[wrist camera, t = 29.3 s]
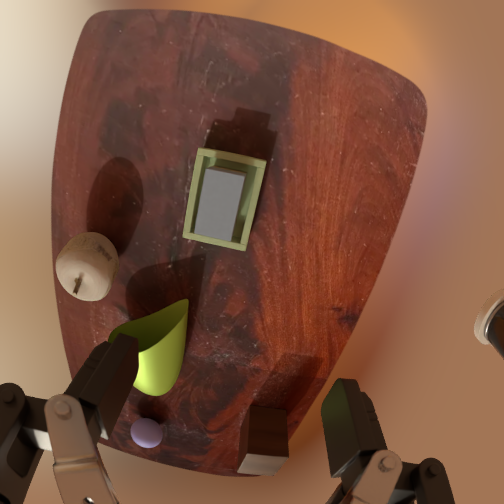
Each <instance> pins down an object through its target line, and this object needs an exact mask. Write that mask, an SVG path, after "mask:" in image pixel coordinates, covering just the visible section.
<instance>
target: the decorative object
mask: <svg viewBox="0 0 504 504" xmlns="http://www.w3.org/2000/svg"><path fill="white" fill-rule="evenodd" d="M118 270H119V260H118V254H117V251H116V249H115V247H114V245H113V244H112V243H111V241H110V240H109V239H108V238H106V237H105V236H103V235H101V234H99V233H95V232H85V233H80V234H78V235H76V236H75V237H73V238H72V239H71V240H70V241H69V242H68V243H67V244H66V245H65V247H64V248H63V249H62V251H61V252H60V254H59V255H58V257H57V261H56V272H57V276H58V279H59V281H60V283H61V284H62V286H63V287H64V288H65V289H66V291H67V292H69V293H70V294H71V295H73V296H74V297H76V298H78V299H81V300H85V301H96V300H100V299H102V298H104V297H105V296H106V295H107V293H108V292H109V290H110V288H111V286H112V283H113V281H114V279H115V277H116V275H117V273H118Z"/></svg>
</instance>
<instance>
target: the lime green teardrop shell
mask: <svg viewBox="0 0 504 504" xmlns="http://www.w3.org/2000/svg"><path fill="white" fill-rule="evenodd" d="M188 304H189V301H188V299H183V300H180V301H178V302H176V303H174V304H172V305H170V306H168V307H166V308H164V309H162V310H160V311H158V312H156V313H153V314H151V315H149V316H146V317H143V318H140V319H136V320H133V321H130V322H127V323H124V324H122V325H120V326H118V327H117V328H115V329H114V330H113V331H112V332H111V334H110V336H109V339H108V342H109V343H112V342H113V341H114V339H115V338H116V336H117V335H118V334H119V333H123V334H126V335H129V336H132V337H135V338H138V342H139V370H138V374H137V377H136V380H135V382H134V384H133V386H135V387H136V388H137V389H139V390H140V391H142V392H144V393H146V394H149V395H153V396H159V395H162V394H165V393H166V392H168V391H169V390H170V389H171V388H172V386H173V385H174V384H175V382H176V380H177V378H178V375H179V373H180V370H181V366H182V362H183V356H184V350H185V341H186V330H187V318H188Z"/></svg>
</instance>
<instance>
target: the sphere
mask: <svg viewBox="0 0 504 504" xmlns="http://www.w3.org/2000/svg"><path fill="white" fill-rule="evenodd" d="M131 436H132V438H133V440H134V441H135V442H136V443H137V444H138V445H140V446H142V447H146V448H151V447H155V446H157V445H158V444H159V443H160V442H161V440H162V429H161V427H160V426H159V424H158V423H157V422H155V421H154V420H152V419H149V418H141V419H138V420H136V421H135V422H134V423H133V425H132V426H131Z"/></svg>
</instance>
